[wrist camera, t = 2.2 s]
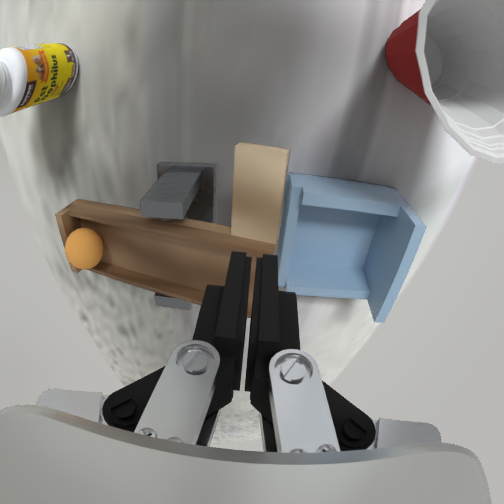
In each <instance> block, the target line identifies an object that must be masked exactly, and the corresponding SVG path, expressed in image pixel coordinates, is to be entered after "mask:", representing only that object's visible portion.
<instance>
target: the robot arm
mask: <svg viewBox="0 0 504 504" xmlns="http://www.w3.org/2000/svg"><path fill="white" fill-rule="evenodd" d="M251 262H252V257H248V256H246V252H236V251H232V252H231V256H230V261H229V266H228V271H227V276H226V281H225V286H219V285H209V284H208V285H207V286H206V290H205V293H204V297H203V301H202V305H201V308H200V312H199V316H198V320H197V324H196V328H195V332H194V336H193V340H192V341H187V342H184V343H182V344H180V345H179V346H177V347H176V348H175V349H174V351H173V352H172V354H171V356H170V358H169V360H168V362H167V364H166V366H164V367H162V368H161V369H159V370H157V371H155V372H153V373H151V374H149V375H147V376H145V377H143V378H141V379H139V380H137V381H135V382H133V383H131V384H130V385H128V386H126V387H124V388H122V389H120V390H118V391H116V392H114V393H112V394H111V395H103V394H102V393H101V392H100V393H99V392H83V391H71V390H60V389H48V390H46V391H45V392H43V393H42V394H41V395H40V396H39V399H38V401H37V404H36V405H16V406H11V407H7V408H5V409H3V410H1V411H0V504H491V498H490V492H489V487H488V483H487V479H486V476H485V473H484V469H483V467H482V464H481V462H480V460H479V459H478V457H477V456H476V455H475V454H474V453H473V452H471V451H470V450H469V449H466V448H464V447H461V446H458V445H454V444H448V443H441V436H440V432H439V431H438V429H437V428H436V427H435V426H433V425H432V424H429V423H421V422H409V421H400V420H392V419H383V418H379V419H378V420H372V419H370V417H369V416H368V415H366V414H365V413H364V412H362V411H361V410H360V409H358V408H357V407H356V406H354V405H353V404H352V403H350V402H349V401H348V400H346V399H345V398H344V397H343V396H341V395H340V394H339V393H338V392H336V391H335V390H333V389H332V388H331V387H330V386H329V385H327V384H326V383H325V382H324V381H322V379H321V376H320V372H319V368H318V365H317V363H316V361H315V360H314V359H313V358H312V356H311V355H309V354H307V353H306V352H304V351H301V350H300V339H299V325H298V311H297V298H296V293H295V292H285V291H278V255H270V254H263V256H262V258H259V257H257V259H256V270H255V280H254V290H253V301H252V311H251V322H250V334H249V346H248V357H247V369H246V380H245V391H249V392H250V400H251V404H252V405H253V406H254V407H255V408H256V409H257V410H258V411H259V419H260V427H261V435H262V443H263V451H264V452H256V451H243V450H232V449H222V448H213V447H210V444H211V440H212V437H213V434H214V431H215V428H216V425H217V422H218V419H219V416H220V413H221V408H223V407H224V406H226V405H227V404H229V403H230V402H231V400H232V398H233V390H238V391H239V390H240V381H241V371H242V361H243V351H244V340H245V330H246V320H247V309H248V298H249V286H250V274H251Z"/></svg>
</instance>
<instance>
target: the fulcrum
mask: <svg viewBox="0 0 504 504" xmlns="http://www.w3.org/2000/svg"><path fill="white" fill-rule="evenodd" d="M157 172H158V181H157V182H156V183H155V184H154V185H153V186H152V187H151V189H150V190H149V191H148V192H147V193H146V195H145V196H144V197H143V198H142V199H141V200H140V206H141V214H142V217H154V218H169V219H184V218H188V219H193V220H198V221H203V222H209V223H214V224H215V174H216V164H199V163H171V162H160V163H159V164H158V165H157ZM155 300H156V305H157V306H163V307H170V308H178V309H186V310H190V309H191V305H192V303H191V302H188V301H184V300H181V299H178V298H174V297H171V296H167V295H164V294H161V293H157V292H156V293H155Z"/></svg>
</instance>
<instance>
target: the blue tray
mask: <svg viewBox="0 0 504 504" xmlns="http://www.w3.org/2000/svg"><path fill="white" fill-rule="evenodd" d="M425 229H426V226H425V224H424V223H423V222H422V220H421V219H420V218H419V217H418V215H417V214H416V213H415V212H414V210H413V209H412V208H411V207H410V205H409V204H408V203H407V202H406V201H405V199H404V198H403V197H402V196H401V195H400V193H399V192H398V191H397V190H396V189H395V188H393V187H387V186H381V185H376V184H370V183H363V182H357V181H351V180H344V179H337V178H330V177H322V176H314V175H306V174H297V173H287V181H286V189H285V196H284V204H283V212H282V219H281V226H280V234H279V241H278V248H277V255H278V286H282V287H286V292H295V293H296V295H305V296H319V297H334V298H351V299H367V300H368V303H369V306H370V310H371V313H372V316H373V320H374V322H381V323H384V322H385V320H386V318H387V316H388V314H389V312H390V310H391V308H392V306H393V304H394V302H395V300H396V298H397V295H398V293H399V291H400V289H401V287H402V285H403V283H404V280H405V278H406V276H407V274H408V271H409V269H410V267H411V264H412V262H413V260H414V257H415V255H416V252H417V250H418V247H419V245H420V242H421V240H422V237H423V235H424V232H425Z"/></svg>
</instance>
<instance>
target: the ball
mask: <svg viewBox="0 0 504 504" xmlns="http://www.w3.org/2000/svg"><path fill="white" fill-rule="evenodd" d="M103 251H104V246H103V242H102V239H101V237H100V236H99V234H98V233H97V232H96V231H94V230H92V229H90V228H79V229H77V230H75V231H73V232H72V233H71V234H70V235H69V237H68V238H67V241H66V244H65V253H66V257H67V259H68V261H69V262H70V263H71V264H72V265H73V266H74V267H76V268H78V269H90V268H92V267H94V266H96V265H97V264H98V263H99V261H100V260H101V258H102V255H103Z"/></svg>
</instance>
